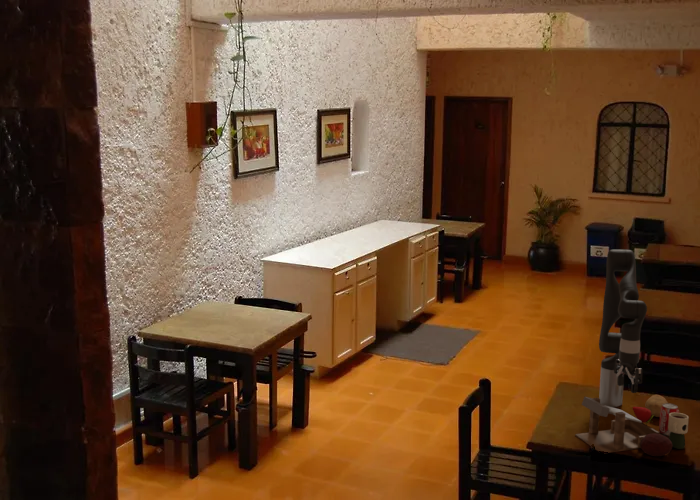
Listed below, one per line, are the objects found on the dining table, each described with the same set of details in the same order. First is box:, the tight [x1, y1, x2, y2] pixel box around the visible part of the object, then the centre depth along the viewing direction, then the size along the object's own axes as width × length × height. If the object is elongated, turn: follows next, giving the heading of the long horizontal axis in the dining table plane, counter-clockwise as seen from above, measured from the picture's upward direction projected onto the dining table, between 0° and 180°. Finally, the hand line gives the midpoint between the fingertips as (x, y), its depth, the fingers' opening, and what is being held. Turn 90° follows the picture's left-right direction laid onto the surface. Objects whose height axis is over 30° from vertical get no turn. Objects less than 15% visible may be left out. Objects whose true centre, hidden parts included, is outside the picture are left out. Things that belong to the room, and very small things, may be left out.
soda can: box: [658, 402, 680, 437], centre depth 309 cm, size 7×7×12 cm
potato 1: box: [644, 394, 669, 418], centre depth 329 cm, size 10×14×8 cm
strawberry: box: [632, 406, 655, 426], centre depth 307 cm, size 6×8×10 cm
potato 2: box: [640, 433, 674, 457], centre depth 289 cm, size 12×11×8 cm
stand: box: [574, 397, 660, 454], centre depth 302 cm, size 26×18×15 cm
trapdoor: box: [581, 396, 642, 423], centre depth 300 cm, size 20×13×4 cm, turn 107°
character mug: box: [668, 412, 690, 450], centre depth 296 cm, size 11×7×13 cm, turn 142°
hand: (626, 389), depth 301 cm, fingers open, 8 cm apart
